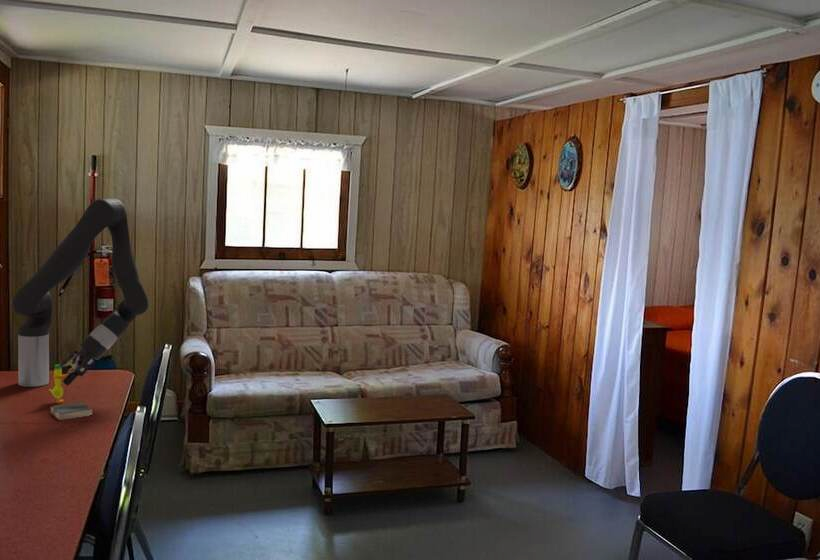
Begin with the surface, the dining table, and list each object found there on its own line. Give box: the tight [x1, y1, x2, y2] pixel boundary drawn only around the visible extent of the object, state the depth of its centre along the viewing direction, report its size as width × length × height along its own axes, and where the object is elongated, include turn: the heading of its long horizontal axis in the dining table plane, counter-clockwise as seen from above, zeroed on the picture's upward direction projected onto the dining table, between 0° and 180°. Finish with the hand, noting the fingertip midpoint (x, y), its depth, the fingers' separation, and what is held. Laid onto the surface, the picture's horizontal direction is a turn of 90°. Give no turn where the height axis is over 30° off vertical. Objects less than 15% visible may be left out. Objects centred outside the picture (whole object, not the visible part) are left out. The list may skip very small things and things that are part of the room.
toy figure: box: [48, 363, 70, 404], centre depth 221 cm, size 7×4×12 cm, turn 110°
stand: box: [50, 401, 93, 421], centre depth 209 cm, size 9×9×2 cm
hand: (60, 381), depth 220 cm, fingers open, 8 cm apart
